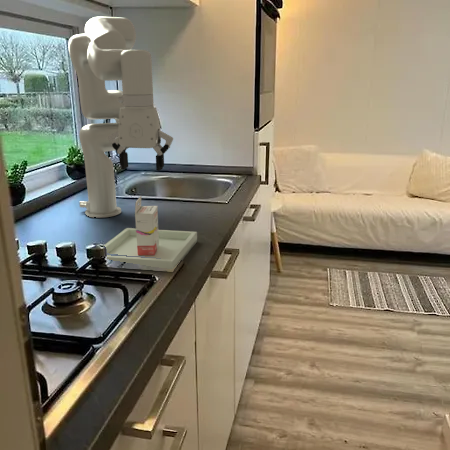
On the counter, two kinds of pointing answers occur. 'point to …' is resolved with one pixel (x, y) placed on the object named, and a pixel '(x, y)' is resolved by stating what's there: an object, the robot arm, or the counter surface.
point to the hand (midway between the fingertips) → (142, 168)
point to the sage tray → (167, 250)
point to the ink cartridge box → (146, 228)
